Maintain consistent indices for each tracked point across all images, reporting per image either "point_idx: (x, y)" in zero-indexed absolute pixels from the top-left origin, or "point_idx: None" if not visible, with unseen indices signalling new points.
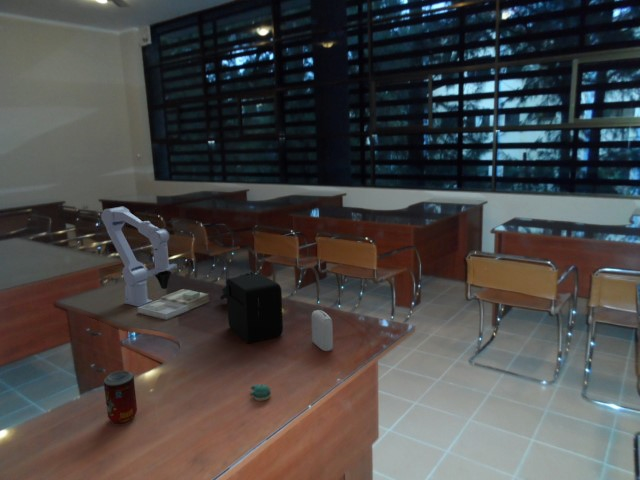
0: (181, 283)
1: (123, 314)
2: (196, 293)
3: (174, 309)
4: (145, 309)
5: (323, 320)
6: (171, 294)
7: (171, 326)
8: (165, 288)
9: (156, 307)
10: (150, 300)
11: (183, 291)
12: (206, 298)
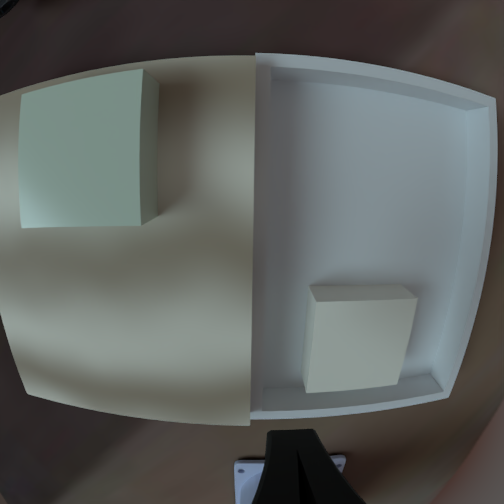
0: (4, 460)
1: (456, 411)
2: (59, 84)
3: (311, 188)
4: (470, 329)
5: None
6: (150, 400)
7: (495, 23)
8: (296, 431)
9: (412, 304)
10: (244, 468)
11: (46, 360)
12: None
